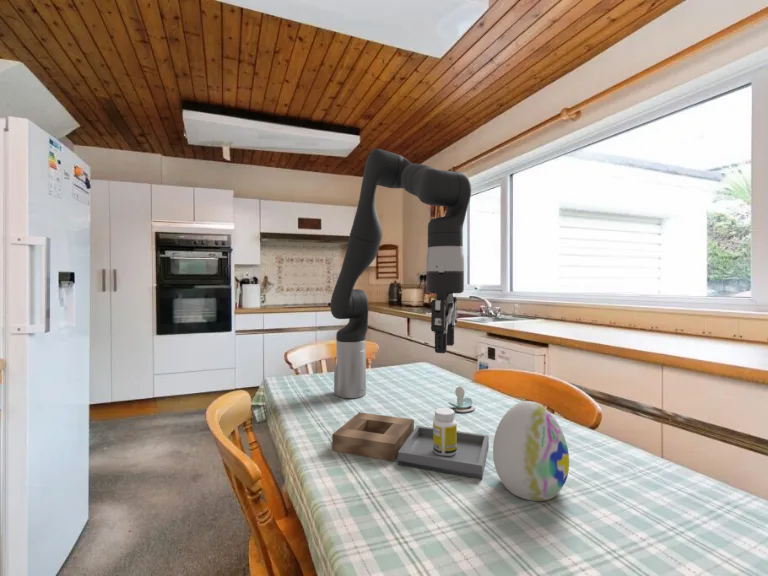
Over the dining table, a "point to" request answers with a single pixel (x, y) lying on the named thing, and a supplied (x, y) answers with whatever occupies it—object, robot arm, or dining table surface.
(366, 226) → the robot arm
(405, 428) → the walnut holder
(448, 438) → the supplement bottle
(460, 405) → the pacifier
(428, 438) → the charcoal tray
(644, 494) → the dining table surface
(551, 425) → the decorative egg
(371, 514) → the dining table surface
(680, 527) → the dining table surface
